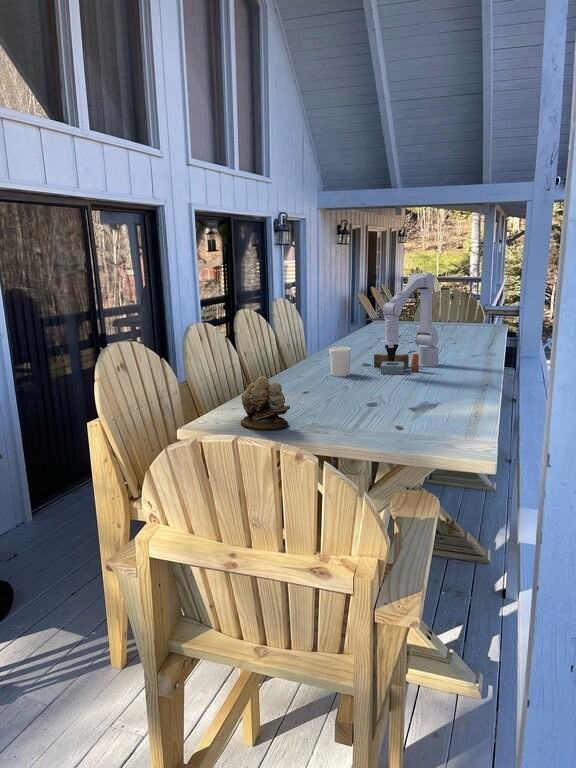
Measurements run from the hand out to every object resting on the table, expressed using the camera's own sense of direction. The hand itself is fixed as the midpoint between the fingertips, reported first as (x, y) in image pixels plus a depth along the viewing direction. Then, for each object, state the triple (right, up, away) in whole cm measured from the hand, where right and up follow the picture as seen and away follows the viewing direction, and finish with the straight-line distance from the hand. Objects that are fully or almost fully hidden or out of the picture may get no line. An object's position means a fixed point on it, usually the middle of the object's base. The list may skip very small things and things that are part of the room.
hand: (391, 361), depth 239 cm
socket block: (+3, -5, +11) cm, 12 cm away
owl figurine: (-53, -24, -57) cm, 81 cm away
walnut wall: (+4, -2, +20) cm, 21 cm away
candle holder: (-22, -6, +9) cm, 24 cm away
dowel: (+12, -4, +9) cm, 16 cm away
